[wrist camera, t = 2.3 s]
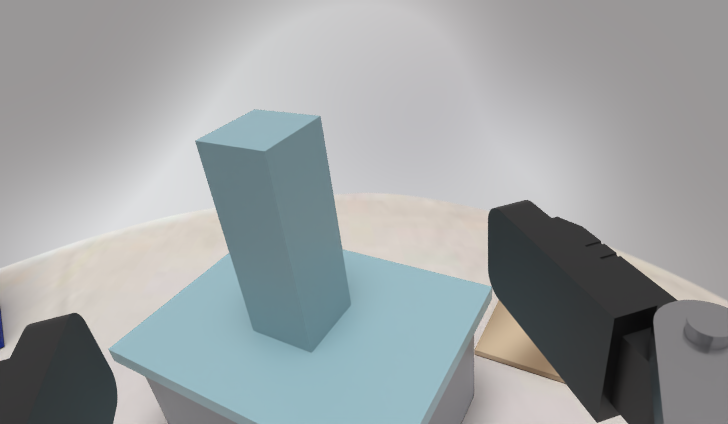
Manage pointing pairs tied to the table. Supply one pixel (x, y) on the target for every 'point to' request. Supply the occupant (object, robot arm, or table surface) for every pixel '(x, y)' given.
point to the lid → (300, 300)
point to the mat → (512, 345)
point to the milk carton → (1, 333)
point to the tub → (195, 420)
